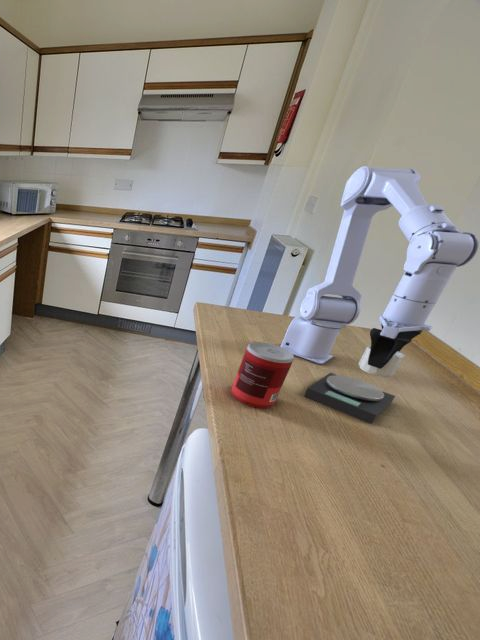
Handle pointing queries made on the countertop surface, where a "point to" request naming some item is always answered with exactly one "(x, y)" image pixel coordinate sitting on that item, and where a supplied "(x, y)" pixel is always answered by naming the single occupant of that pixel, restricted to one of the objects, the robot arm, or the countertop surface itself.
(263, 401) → the canned food
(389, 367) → the cup
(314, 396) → the scale
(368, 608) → the countertop surface
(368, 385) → the scale pan
